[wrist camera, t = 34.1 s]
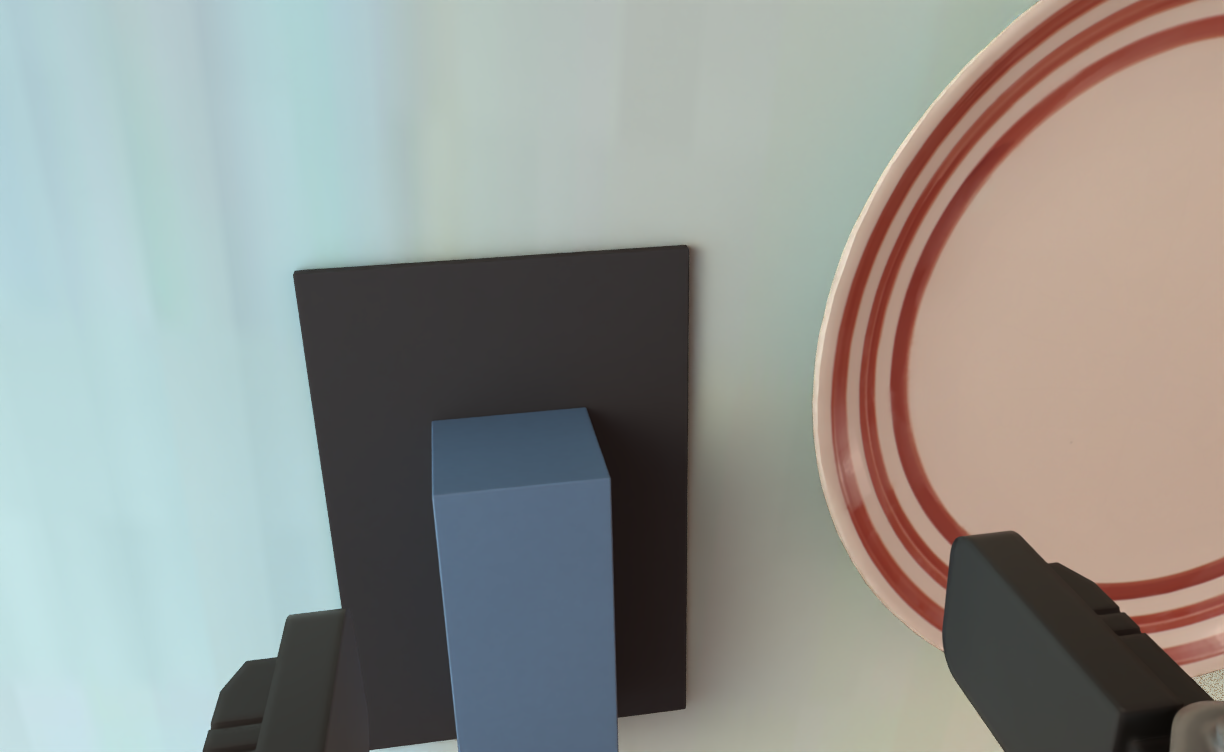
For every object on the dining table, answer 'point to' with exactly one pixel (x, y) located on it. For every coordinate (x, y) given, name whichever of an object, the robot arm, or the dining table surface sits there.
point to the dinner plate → (1044, 324)
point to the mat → (486, 386)
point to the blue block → (527, 581)
